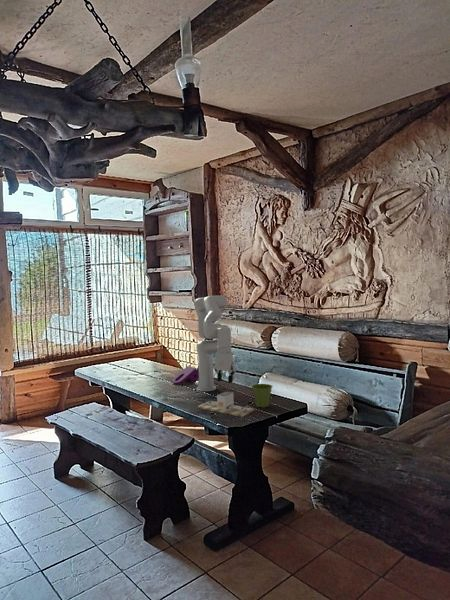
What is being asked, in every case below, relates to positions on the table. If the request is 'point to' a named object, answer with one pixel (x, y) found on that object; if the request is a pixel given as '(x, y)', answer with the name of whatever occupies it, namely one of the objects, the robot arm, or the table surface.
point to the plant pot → (262, 394)
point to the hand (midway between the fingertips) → (225, 381)
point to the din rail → (227, 406)
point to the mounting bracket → (186, 375)
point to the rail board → (227, 410)
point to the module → (225, 400)
